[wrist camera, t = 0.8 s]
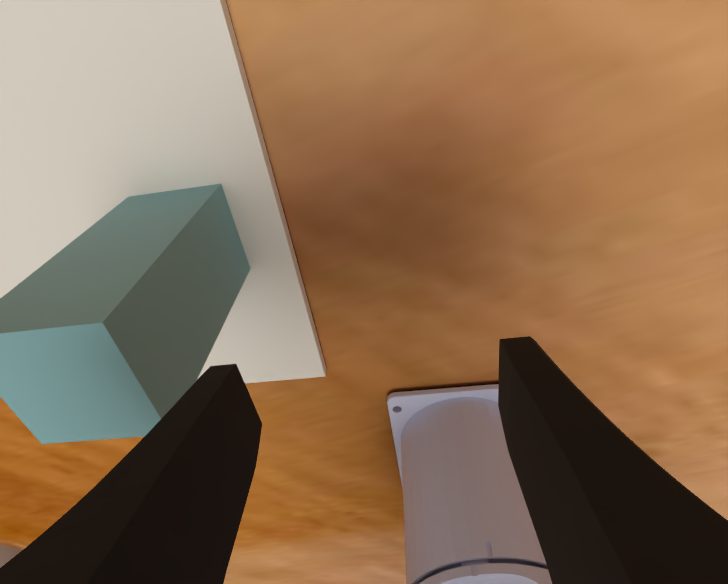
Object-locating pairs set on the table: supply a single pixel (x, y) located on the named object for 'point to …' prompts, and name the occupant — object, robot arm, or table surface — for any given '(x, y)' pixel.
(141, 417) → the teal block
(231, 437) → the robot arm
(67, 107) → the white mat
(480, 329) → the table surface
